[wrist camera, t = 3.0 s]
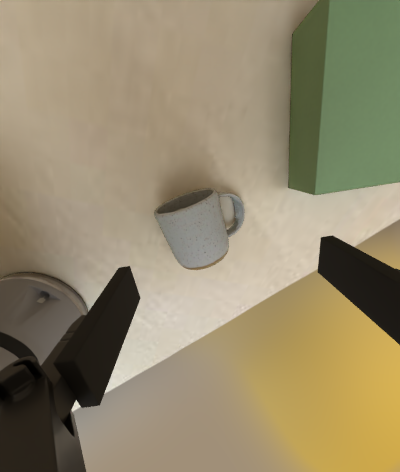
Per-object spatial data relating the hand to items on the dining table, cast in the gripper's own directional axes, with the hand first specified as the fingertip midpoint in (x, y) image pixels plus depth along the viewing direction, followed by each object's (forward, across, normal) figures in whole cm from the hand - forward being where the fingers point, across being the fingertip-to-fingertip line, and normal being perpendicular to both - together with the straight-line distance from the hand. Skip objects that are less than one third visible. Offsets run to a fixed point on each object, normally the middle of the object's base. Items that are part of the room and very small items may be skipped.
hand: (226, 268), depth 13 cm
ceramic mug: (+15, -1, 0) cm, 15 cm away
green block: (+15, +18, +10) cm, 25 cm away
